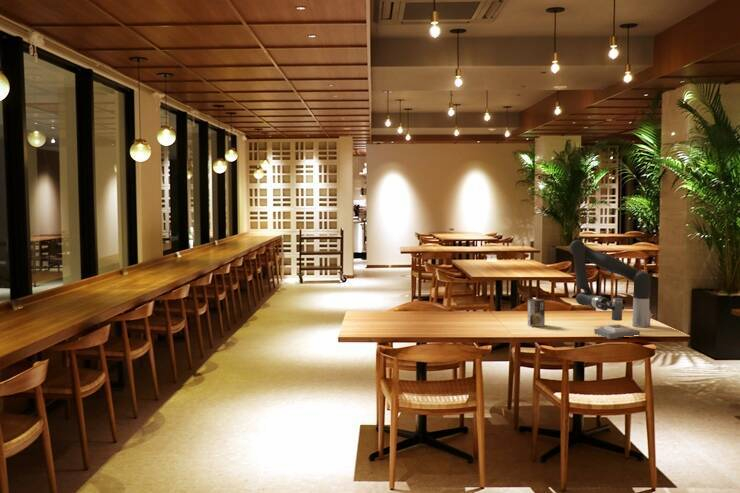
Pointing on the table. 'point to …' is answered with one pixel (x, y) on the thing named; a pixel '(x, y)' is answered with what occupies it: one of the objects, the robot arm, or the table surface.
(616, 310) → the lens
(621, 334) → the grey flat block
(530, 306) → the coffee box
